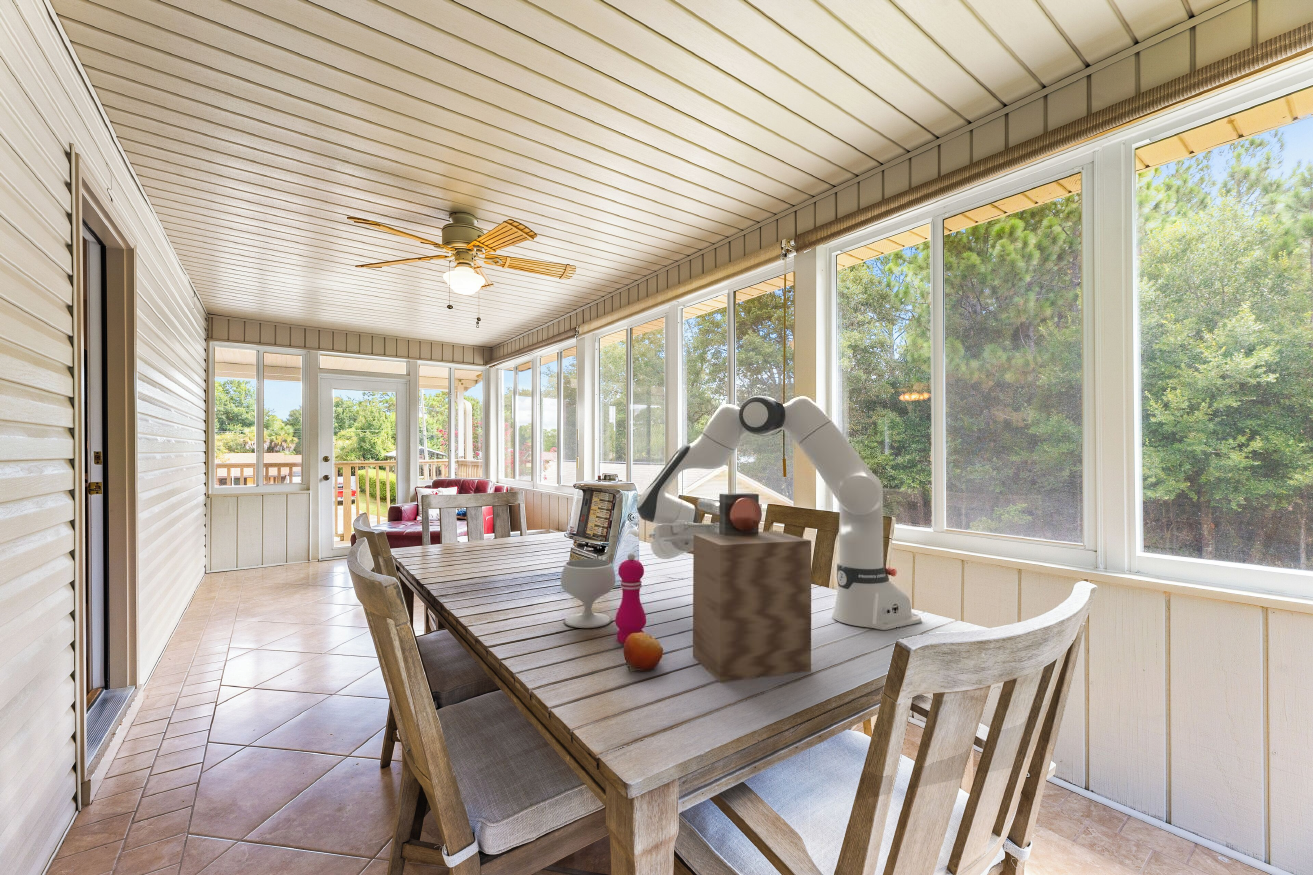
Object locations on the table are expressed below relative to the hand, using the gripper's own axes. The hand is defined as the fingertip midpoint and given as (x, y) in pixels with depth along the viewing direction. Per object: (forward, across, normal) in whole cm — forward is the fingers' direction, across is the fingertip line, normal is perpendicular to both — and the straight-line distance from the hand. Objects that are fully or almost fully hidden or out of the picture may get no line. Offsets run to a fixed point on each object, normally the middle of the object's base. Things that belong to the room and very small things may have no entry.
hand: (701, 525), depth 145 cm
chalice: (-17, -27, +21) cm, 38 cm away
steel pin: (+15, -2, +3) cm, 16 cm away
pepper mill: (-2, -21, +26) cm, 34 cm away
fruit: (+14, -24, +32) cm, 43 cm away
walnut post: (+19, -2, +33) cm, 39 cm away
